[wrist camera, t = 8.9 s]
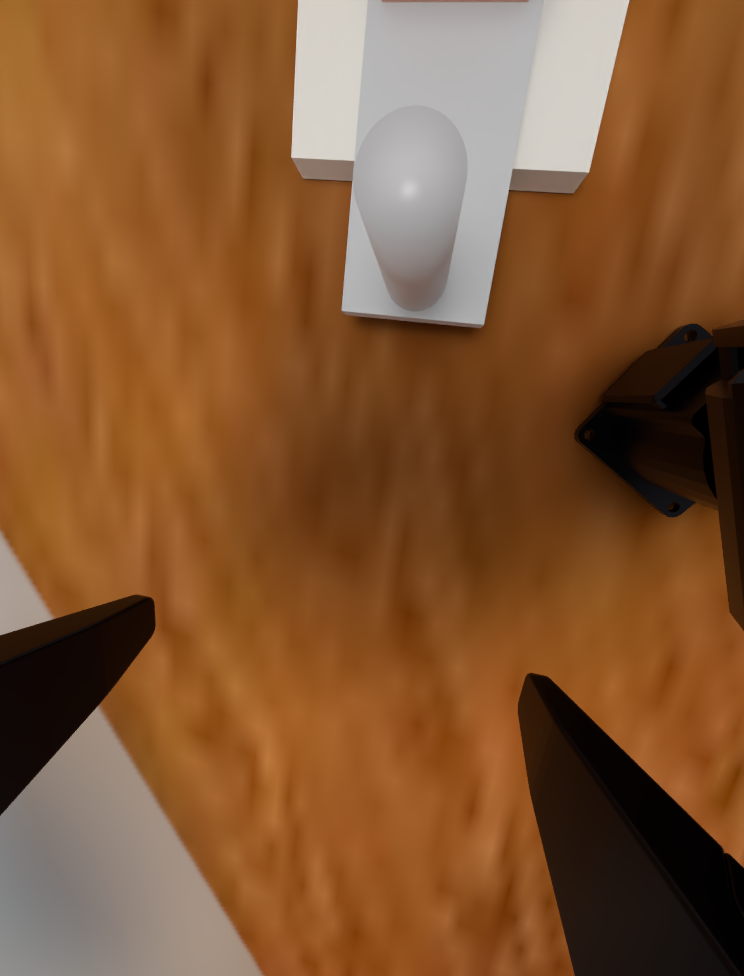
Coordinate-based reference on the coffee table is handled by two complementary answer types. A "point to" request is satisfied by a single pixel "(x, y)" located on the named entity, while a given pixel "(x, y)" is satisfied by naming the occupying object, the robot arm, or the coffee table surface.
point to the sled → (435, 155)
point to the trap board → (547, 111)
